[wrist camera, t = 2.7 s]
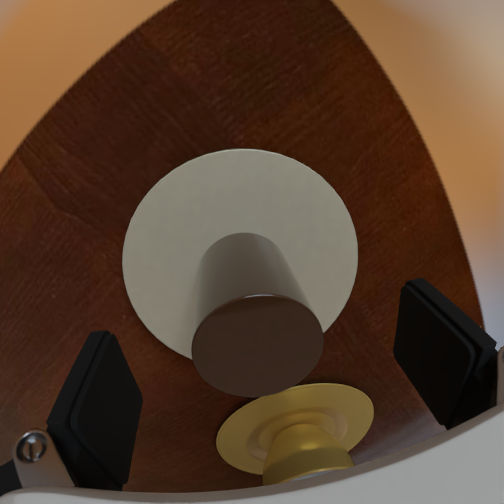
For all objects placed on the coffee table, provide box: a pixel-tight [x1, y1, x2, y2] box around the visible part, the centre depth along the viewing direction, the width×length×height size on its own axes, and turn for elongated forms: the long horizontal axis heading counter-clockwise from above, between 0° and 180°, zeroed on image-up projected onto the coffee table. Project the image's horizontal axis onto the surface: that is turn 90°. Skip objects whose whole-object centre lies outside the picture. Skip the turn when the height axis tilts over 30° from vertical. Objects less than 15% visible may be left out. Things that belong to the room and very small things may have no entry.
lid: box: [122, 148, 358, 397], centre depth 12 cm, size 11×11×7 cm
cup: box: [216, 383, 374, 486], centre depth 18 cm, size 12×12×5 cm
